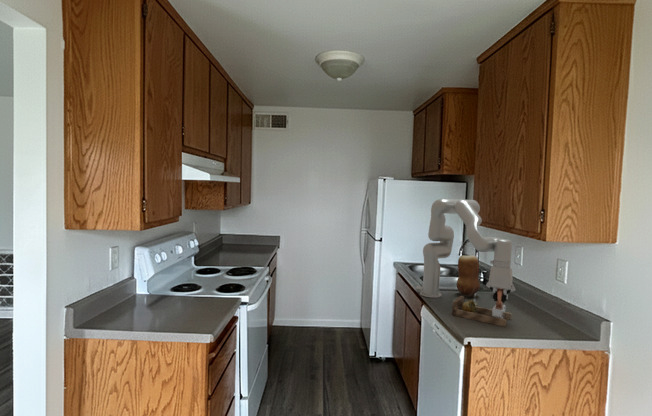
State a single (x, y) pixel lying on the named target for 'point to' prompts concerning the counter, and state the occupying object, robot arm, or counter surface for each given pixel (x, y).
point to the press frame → (479, 317)
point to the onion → (469, 306)
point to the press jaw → (499, 305)
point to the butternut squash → (468, 275)
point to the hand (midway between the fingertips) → (499, 301)
